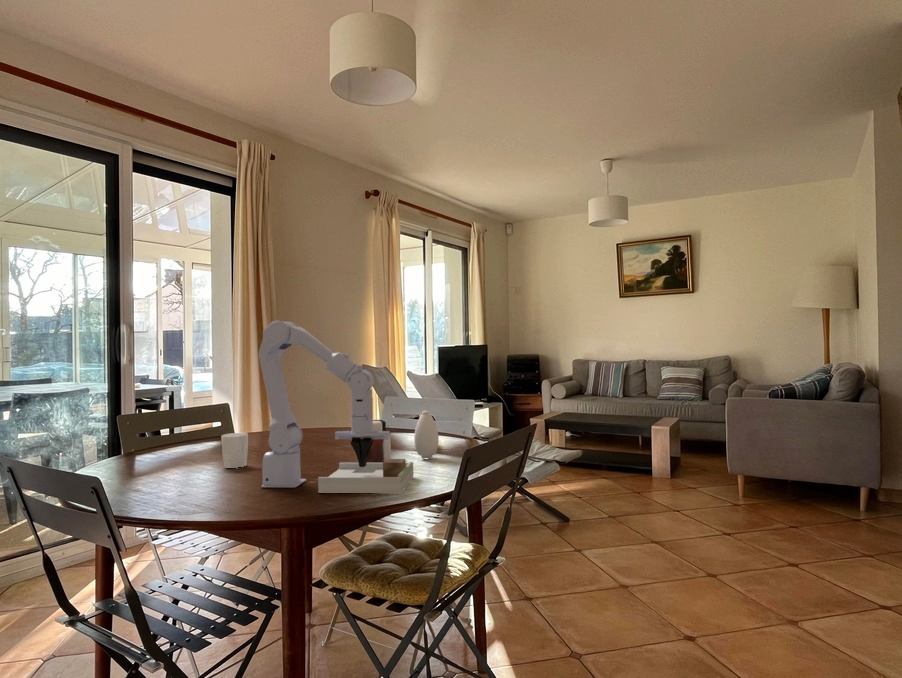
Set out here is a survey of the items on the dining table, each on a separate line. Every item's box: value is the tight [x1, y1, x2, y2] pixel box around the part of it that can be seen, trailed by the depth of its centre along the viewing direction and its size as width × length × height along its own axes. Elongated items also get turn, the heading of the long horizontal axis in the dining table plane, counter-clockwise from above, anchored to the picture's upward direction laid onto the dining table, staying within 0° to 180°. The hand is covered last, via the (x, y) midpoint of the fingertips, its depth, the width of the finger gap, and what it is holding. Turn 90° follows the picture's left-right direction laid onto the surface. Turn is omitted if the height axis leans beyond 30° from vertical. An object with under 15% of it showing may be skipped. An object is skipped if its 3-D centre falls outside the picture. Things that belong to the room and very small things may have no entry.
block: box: [383, 458, 407, 477], centre depth 149 cm, size 5×5×4 cm
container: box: [373, 419, 392, 461], centre depth 181 cm, size 8×8×13 cm
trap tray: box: [317, 461, 414, 495], centre depth 149 cm, size 21×18×4 cm
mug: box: [364, 436, 384, 463], centre depth 170 cm, size 12×9×10 cm
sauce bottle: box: [413, 403, 440, 459], centre depth 182 cm, size 8×8×18 cm
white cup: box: [220, 432, 249, 469], centre depth 177 cm, size 8×8×10 cm
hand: (362, 466), depth 150 cm, fingers closed
